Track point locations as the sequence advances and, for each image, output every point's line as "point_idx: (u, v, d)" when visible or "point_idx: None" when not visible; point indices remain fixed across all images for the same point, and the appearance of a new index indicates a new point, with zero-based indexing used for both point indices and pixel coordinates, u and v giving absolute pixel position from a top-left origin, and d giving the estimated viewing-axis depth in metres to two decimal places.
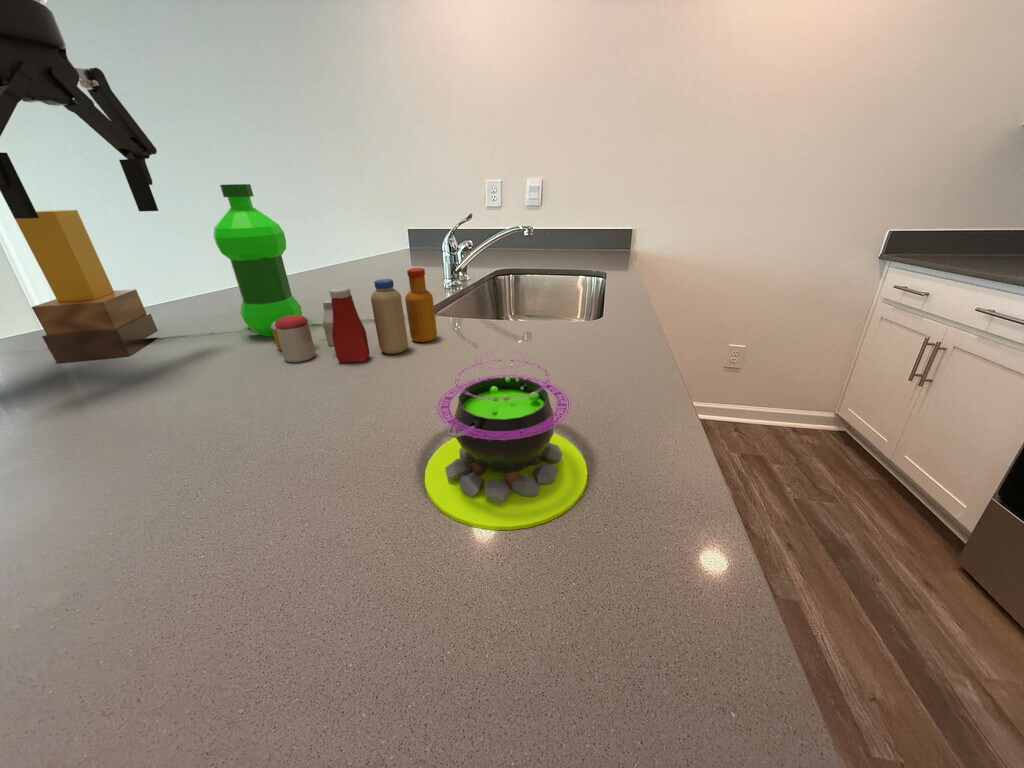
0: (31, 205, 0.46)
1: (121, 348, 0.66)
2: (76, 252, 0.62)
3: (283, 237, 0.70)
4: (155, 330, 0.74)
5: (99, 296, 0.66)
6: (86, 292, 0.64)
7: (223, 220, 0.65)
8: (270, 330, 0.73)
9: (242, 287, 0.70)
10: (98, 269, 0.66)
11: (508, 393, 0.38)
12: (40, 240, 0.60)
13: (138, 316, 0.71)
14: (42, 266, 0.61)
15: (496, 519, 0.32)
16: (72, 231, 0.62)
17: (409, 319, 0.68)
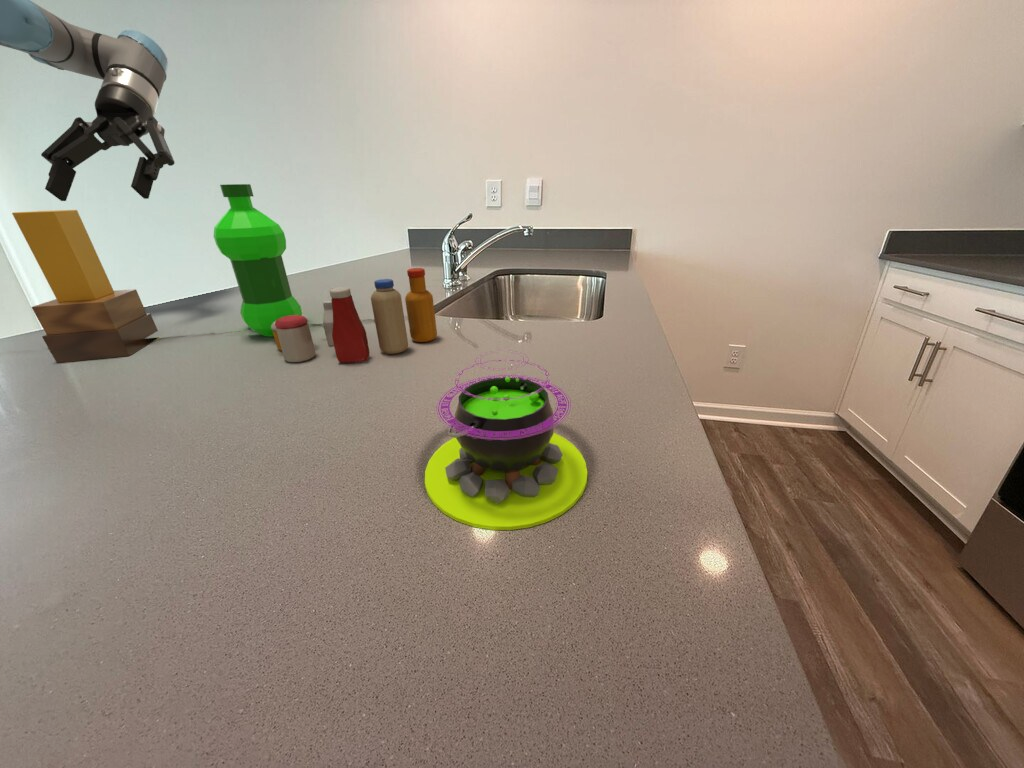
0: (51, 182, 0.68)
1: (121, 348, 0.66)
2: (76, 252, 0.62)
3: (283, 237, 0.70)
4: (155, 330, 0.74)
5: (99, 296, 0.66)
6: (86, 292, 0.64)
7: (223, 220, 0.65)
8: (270, 330, 0.73)
9: (242, 287, 0.70)
10: (98, 269, 0.66)
11: (508, 393, 0.38)
12: (40, 240, 0.60)
13: (138, 316, 0.71)
14: (42, 266, 0.61)
15: (496, 519, 0.32)
16: (72, 231, 0.62)
17: (409, 319, 0.68)
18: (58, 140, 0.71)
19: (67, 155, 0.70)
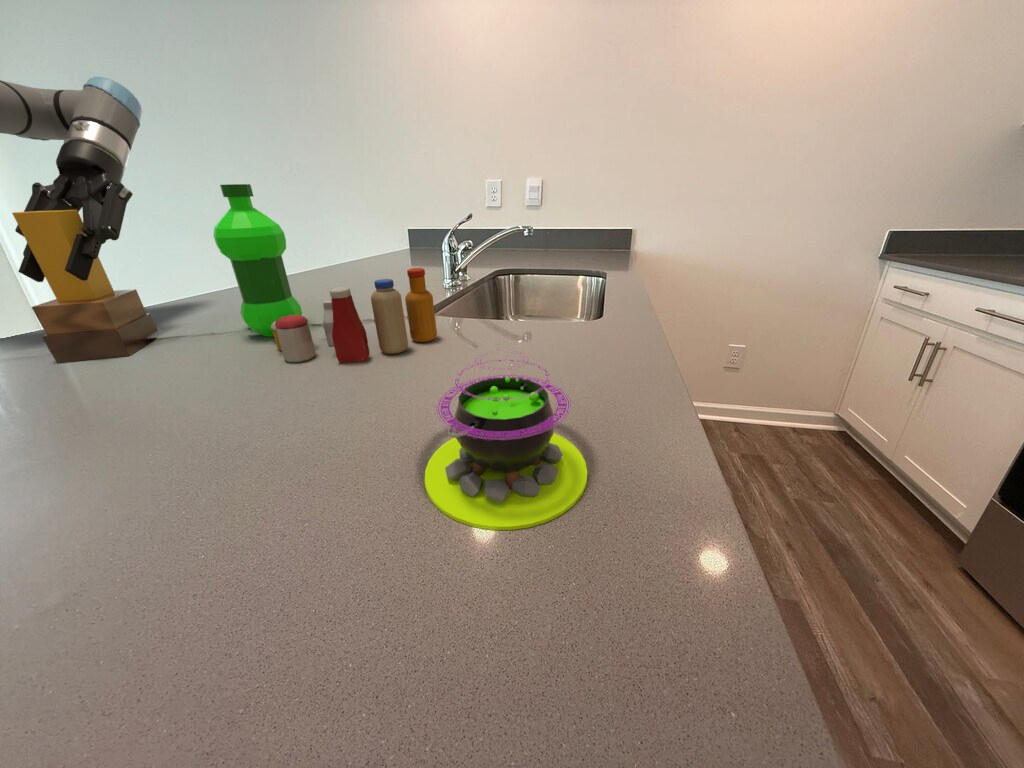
0: (25, 264, 0.60)
1: (121, 348, 0.66)
2: None
3: (283, 237, 0.70)
4: (155, 330, 0.74)
5: (99, 296, 0.66)
6: (86, 292, 0.64)
7: (223, 220, 0.65)
8: (270, 330, 0.73)
9: (242, 287, 0.70)
10: (99, 269, 0.66)
11: (508, 393, 0.38)
12: (40, 240, 0.60)
13: (138, 316, 0.71)
14: (43, 266, 0.61)
15: (496, 519, 0.32)
16: (73, 231, 0.62)
17: (409, 319, 0.68)
18: (26, 211, 0.63)
19: None
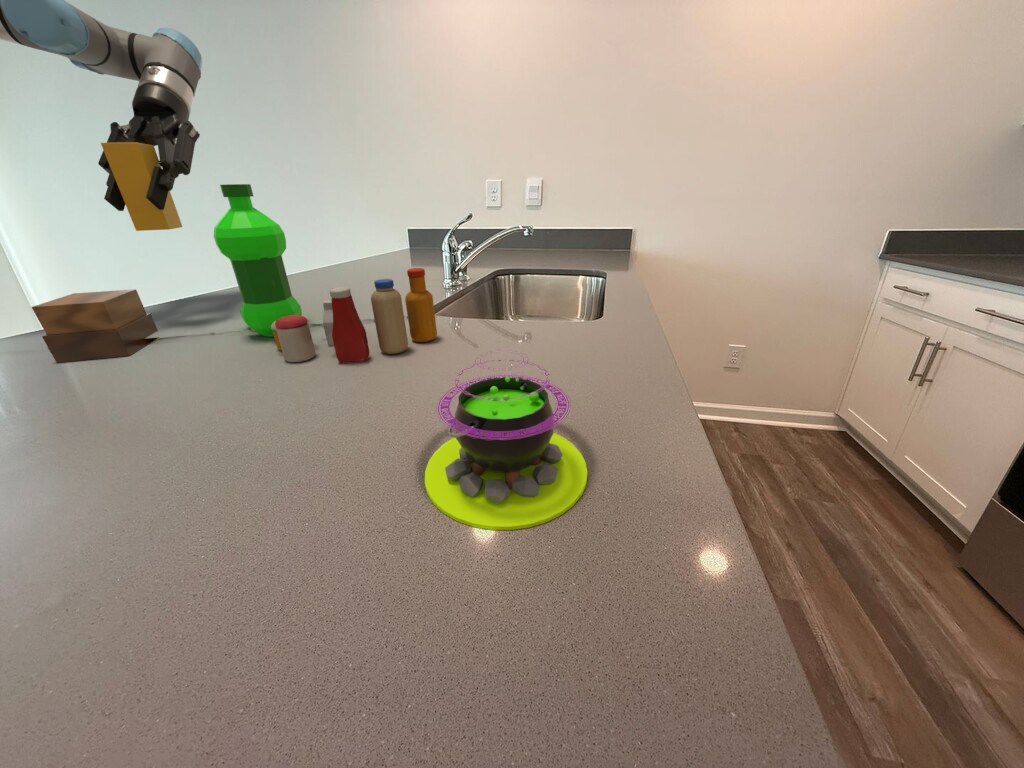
0: (110, 192, 0.66)
1: (121, 348, 0.66)
2: None
3: (283, 237, 0.70)
4: (155, 330, 0.74)
5: (172, 227, 0.71)
6: (161, 222, 0.70)
7: (223, 220, 0.65)
8: (270, 330, 0.73)
9: (242, 287, 0.70)
10: (170, 203, 0.72)
11: (508, 393, 0.38)
12: (124, 170, 0.66)
13: (138, 316, 0.71)
14: (124, 195, 0.67)
15: (496, 519, 0.32)
16: (151, 164, 0.68)
17: (409, 319, 0.68)
18: None
19: None
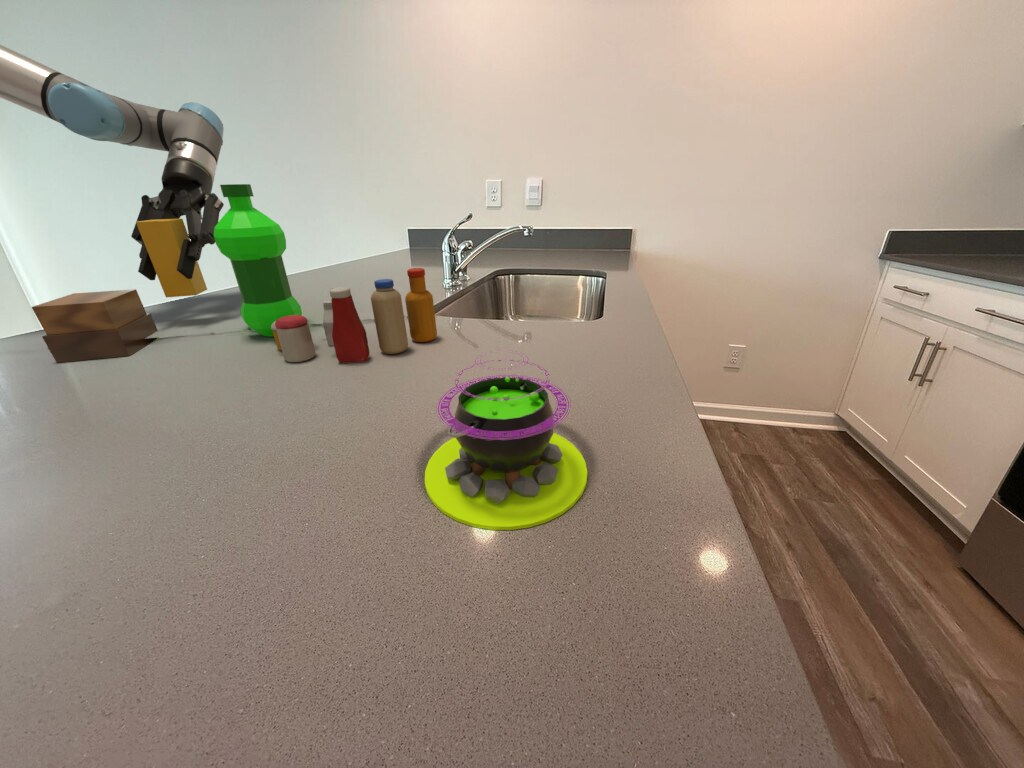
0: (143, 264, 0.71)
1: (121, 348, 0.66)
2: None
3: (283, 237, 0.70)
4: (155, 330, 0.74)
5: (198, 292, 0.76)
6: (189, 289, 0.75)
7: (223, 220, 0.65)
8: (270, 330, 0.73)
9: (242, 287, 0.70)
10: (197, 269, 0.77)
11: (508, 393, 0.38)
12: (156, 244, 0.71)
13: (138, 316, 0.71)
14: (156, 267, 0.72)
15: (496, 519, 0.32)
16: (180, 237, 0.73)
17: (409, 319, 0.68)
18: (139, 220, 0.74)
19: None
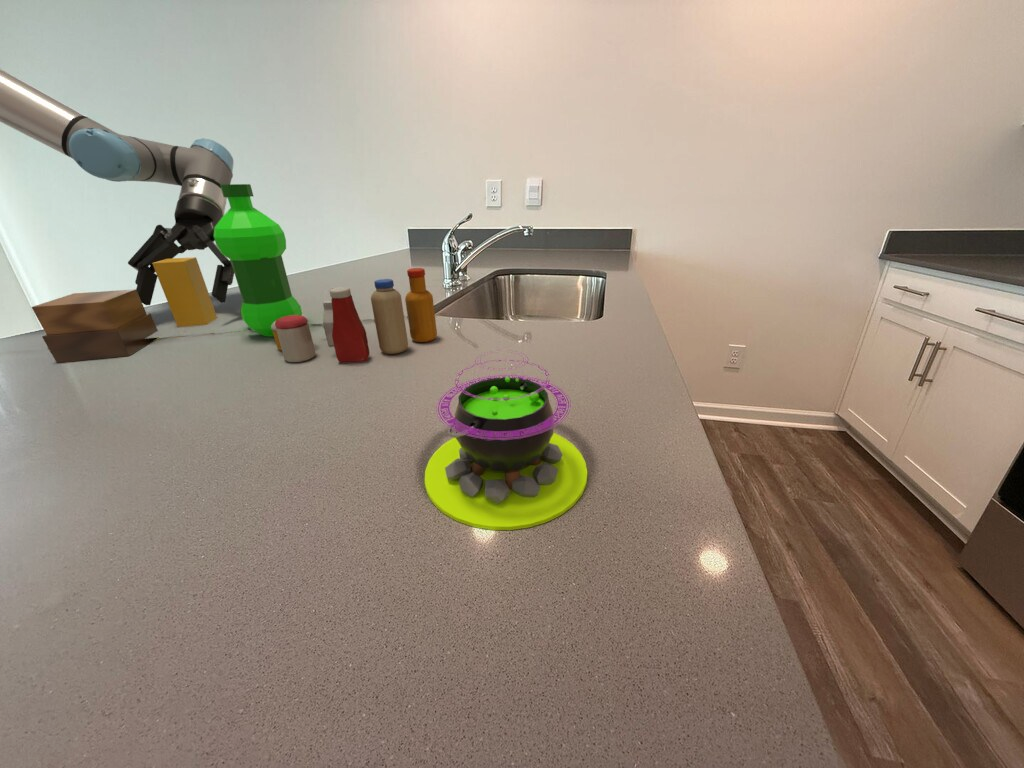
0: (139, 291, 0.74)
1: (121, 348, 0.66)
2: (197, 293, 0.76)
3: (283, 237, 0.70)
4: (155, 330, 0.74)
5: None
6: (202, 324, 0.78)
7: (223, 220, 0.65)
8: (270, 330, 0.73)
9: (242, 287, 0.70)
10: (209, 304, 0.80)
11: (508, 393, 0.38)
12: (171, 284, 0.74)
13: (138, 316, 0.71)
14: (171, 304, 0.75)
15: (496, 519, 0.32)
16: (194, 276, 0.76)
17: (409, 319, 0.68)
18: (142, 248, 0.77)
19: (151, 262, 0.77)
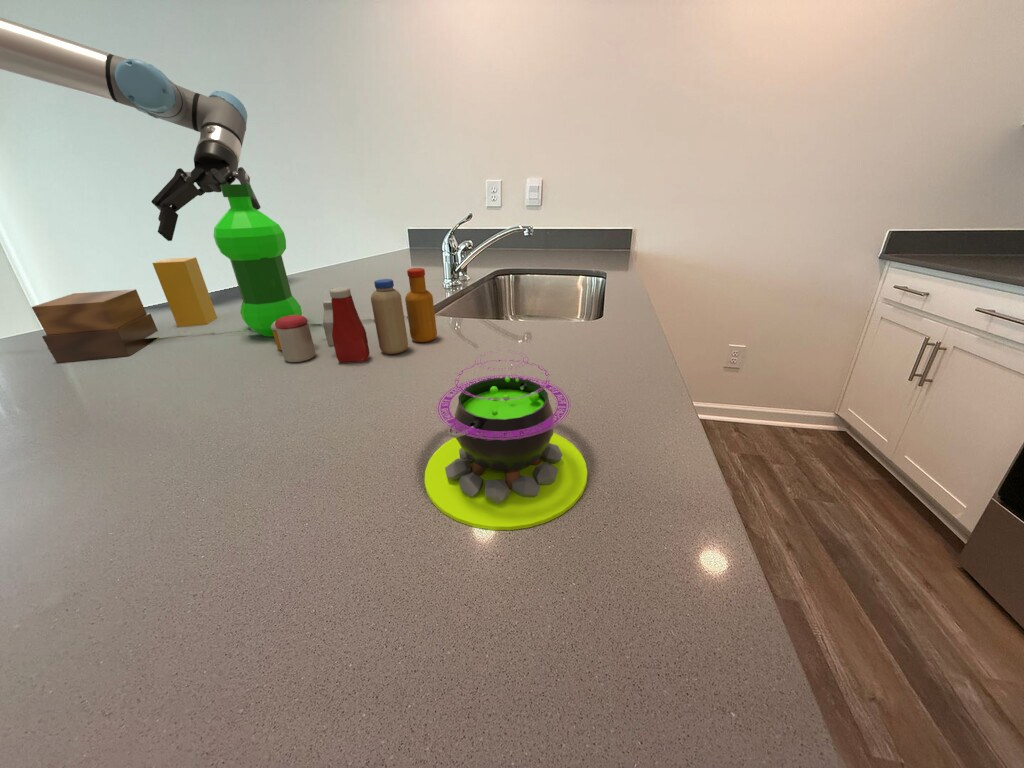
0: (162, 226, 0.80)
1: (121, 348, 0.66)
2: (197, 293, 0.76)
3: (283, 237, 0.70)
4: (155, 330, 0.74)
5: None
6: (202, 324, 0.78)
7: (223, 220, 0.65)
8: (270, 330, 0.73)
9: (242, 287, 0.70)
10: (209, 304, 0.80)
11: (508, 393, 0.38)
12: (171, 284, 0.74)
13: (138, 316, 0.71)
14: (171, 304, 0.75)
15: (496, 519, 0.32)
16: (194, 276, 0.76)
17: (409, 319, 0.68)
18: (164, 189, 0.84)
19: (172, 202, 0.83)
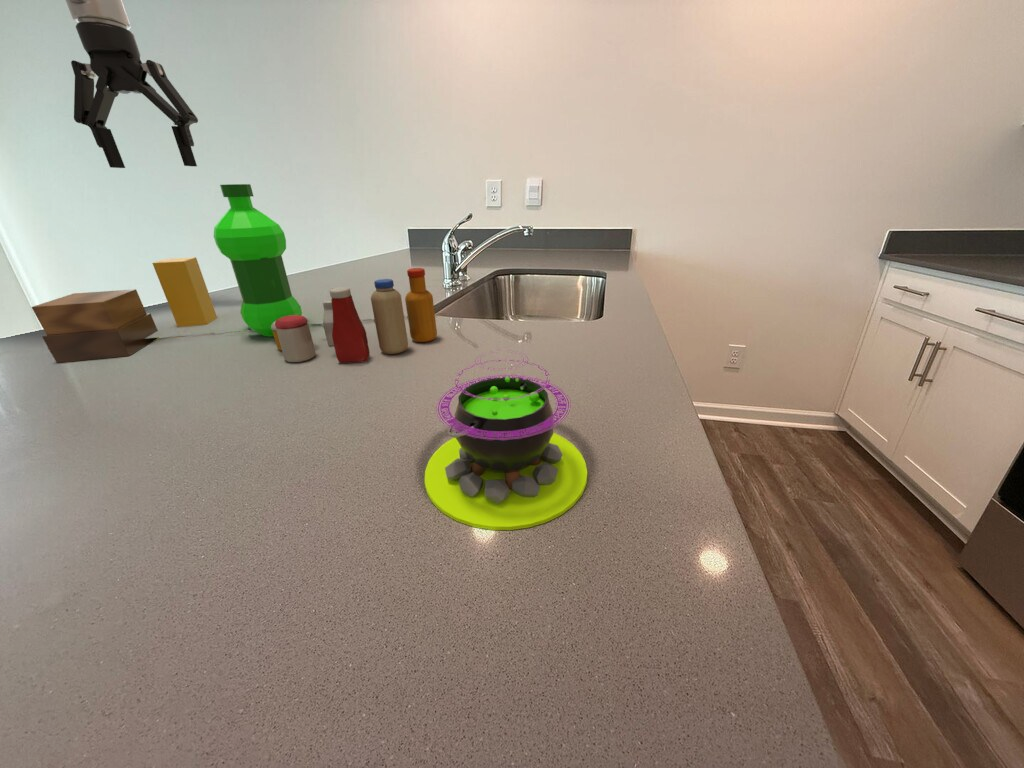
0: (110, 159, 0.77)
1: (121, 348, 0.66)
2: (197, 293, 0.76)
3: (283, 237, 0.70)
4: (155, 330, 0.74)
5: None
6: (202, 324, 0.78)
7: (223, 220, 0.65)
8: (270, 330, 0.73)
9: (242, 287, 0.70)
10: (209, 304, 0.80)
11: (508, 393, 0.38)
12: (171, 284, 0.74)
13: (138, 316, 0.71)
14: (171, 304, 0.75)
15: (496, 519, 0.32)
16: (194, 276, 0.76)
17: (409, 319, 0.68)
18: (77, 98, 0.73)
19: (98, 118, 0.75)
